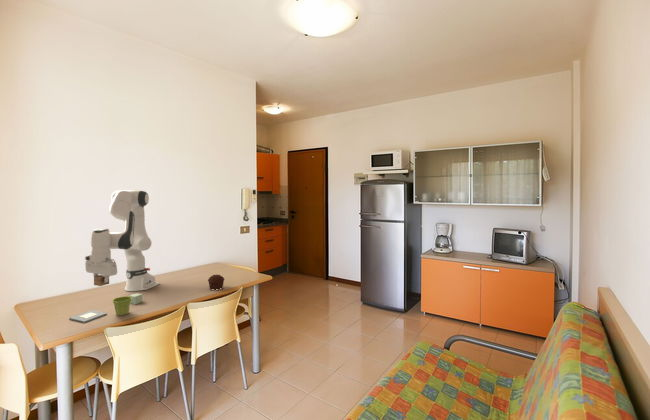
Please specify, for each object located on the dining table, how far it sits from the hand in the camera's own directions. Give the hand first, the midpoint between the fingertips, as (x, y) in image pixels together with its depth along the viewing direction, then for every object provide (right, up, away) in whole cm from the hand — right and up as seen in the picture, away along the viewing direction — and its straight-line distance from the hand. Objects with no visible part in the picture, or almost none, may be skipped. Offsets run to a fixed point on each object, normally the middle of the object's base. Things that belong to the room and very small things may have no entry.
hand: (101, 281), depth 174 cm
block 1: (0, -2, 0) cm, 2 cm away
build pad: (-6, -20, -2) cm, 20 cm away
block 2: (+6, -18, +22) cm, 29 cm away
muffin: (+46, -18, +52) cm, 72 cm away
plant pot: (+9, -20, +4) cm, 22 cm away
